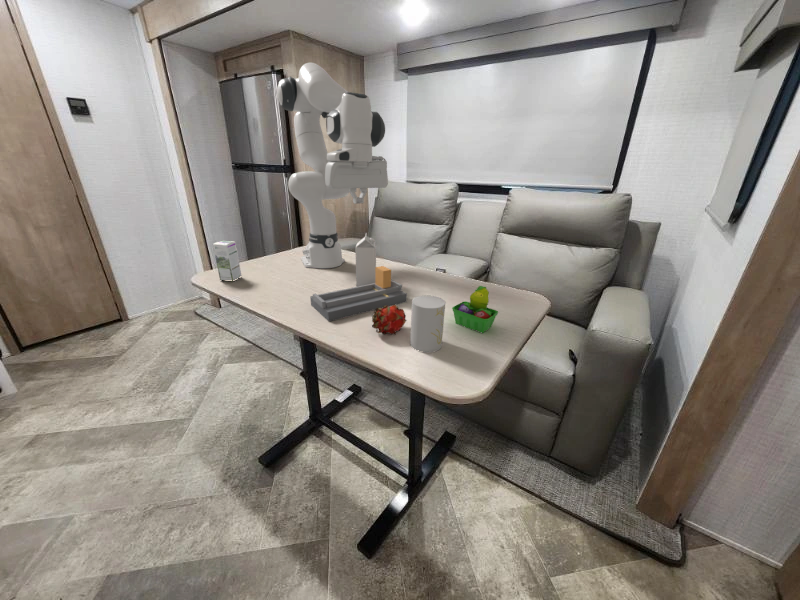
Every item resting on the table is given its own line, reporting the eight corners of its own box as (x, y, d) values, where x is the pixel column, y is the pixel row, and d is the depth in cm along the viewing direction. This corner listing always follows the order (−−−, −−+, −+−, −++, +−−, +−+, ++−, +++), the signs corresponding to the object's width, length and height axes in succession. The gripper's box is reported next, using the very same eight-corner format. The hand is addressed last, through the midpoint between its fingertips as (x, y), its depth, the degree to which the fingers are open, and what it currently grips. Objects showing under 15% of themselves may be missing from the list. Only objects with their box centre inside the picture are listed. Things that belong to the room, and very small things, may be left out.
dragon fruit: (369, 343, 86) (399, 334, 95) (390, 335, 81) (420, 326, 89) (359, 313, 88) (390, 307, 96) (379, 303, 82) (410, 297, 91)
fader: (374, 287, 111) (374, 267, 108) (384, 285, 113) (384, 265, 110) (381, 292, 107) (382, 271, 105) (391, 290, 110) (392, 269, 107)
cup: (438, 354, 79) (442, 310, 75) (406, 349, 81) (408, 305, 77) (443, 339, 87) (447, 297, 82) (414, 334, 89) (416, 293, 84)
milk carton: (356, 287, 121) (354, 236, 113) (357, 280, 127) (356, 232, 120) (375, 287, 121) (375, 236, 113) (376, 281, 127) (376, 232, 120)
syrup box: (242, 277, 127) (236, 240, 121) (233, 282, 122) (226, 244, 116) (229, 276, 128) (222, 239, 122) (219, 281, 122) (211, 243, 117)
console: (310, 305, 104) (308, 290, 102) (384, 288, 120) (385, 276, 118) (327, 321, 94) (326, 306, 92) (407, 301, 109) (407, 287, 107)
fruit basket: (449, 323, 95) (452, 287, 91) (464, 314, 101) (468, 280, 97) (484, 336, 88) (490, 298, 84) (498, 326, 95) (504, 289, 90)
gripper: (381, 156, 105) (381, 201, 110) (321, 154, 94) (324, 203, 99) (392, 156, 100) (391, 203, 105) (330, 154, 89) (332, 206, 94)
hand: (358, 203), depth 102 cm, fingers closed
